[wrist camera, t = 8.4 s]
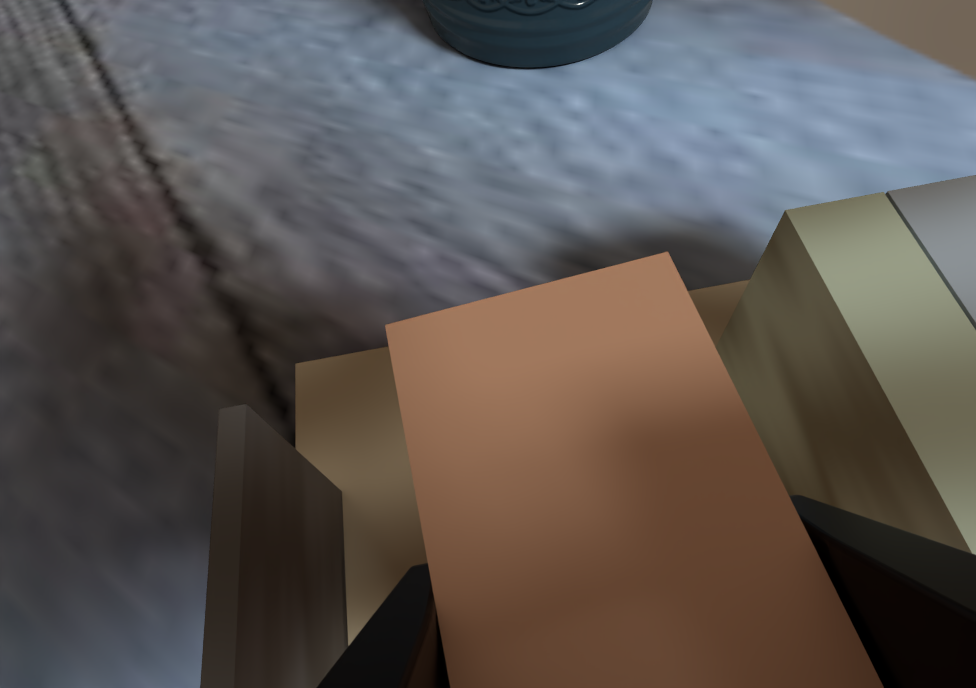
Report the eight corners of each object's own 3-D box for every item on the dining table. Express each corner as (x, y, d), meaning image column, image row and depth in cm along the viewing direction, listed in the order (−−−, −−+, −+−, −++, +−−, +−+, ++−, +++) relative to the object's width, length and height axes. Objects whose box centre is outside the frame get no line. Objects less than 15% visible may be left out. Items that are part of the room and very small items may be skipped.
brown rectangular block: (711, 724, 15) (941, 801, 6) (532, 774, 14) (494, 929, 6) (614, 455, 18) (667, 252, 9) (469, 494, 18) (385, 324, 9)
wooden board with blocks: (1177, 784, 15) (1783, 885, 8) (306, 950, 15) (72, 1212, 8) (874, 277, 23) (1028, 86, 16) (301, 382, 23) (185, 241, 16)
